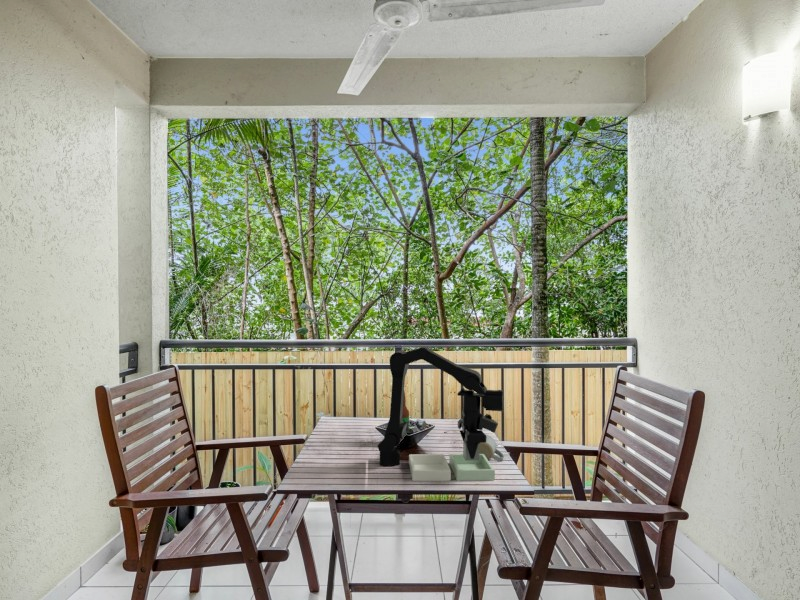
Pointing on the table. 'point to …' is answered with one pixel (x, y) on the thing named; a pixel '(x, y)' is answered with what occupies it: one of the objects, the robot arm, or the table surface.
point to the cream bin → (429, 467)
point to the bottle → (405, 413)
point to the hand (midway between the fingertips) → (470, 456)
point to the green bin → (471, 468)
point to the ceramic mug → (490, 449)
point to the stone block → (466, 453)
